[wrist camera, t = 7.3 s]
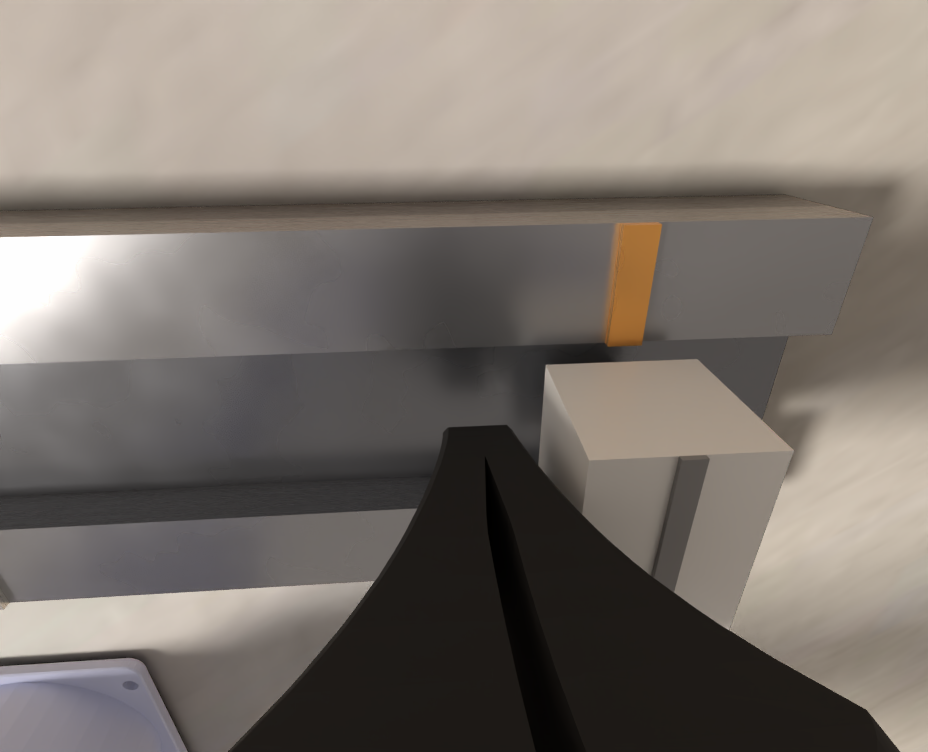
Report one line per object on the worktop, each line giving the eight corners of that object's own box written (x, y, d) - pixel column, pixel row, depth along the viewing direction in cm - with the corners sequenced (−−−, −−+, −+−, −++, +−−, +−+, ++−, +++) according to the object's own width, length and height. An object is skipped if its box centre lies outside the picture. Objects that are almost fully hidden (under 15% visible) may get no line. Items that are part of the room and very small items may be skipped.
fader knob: (636, 470, 13) (732, 635, 9) (522, 475, 13) (567, 646, 9) (664, 327, 11) (798, 454, 7) (530, 331, 11) (590, 464, 7)
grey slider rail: (703, 491, 16) (755, 564, 14) (-58, 531, 15) (-157, 619, 12) (784, 194, 12) (881, 219, 9) (-266, 216, 11) (-482, 251, 8)
